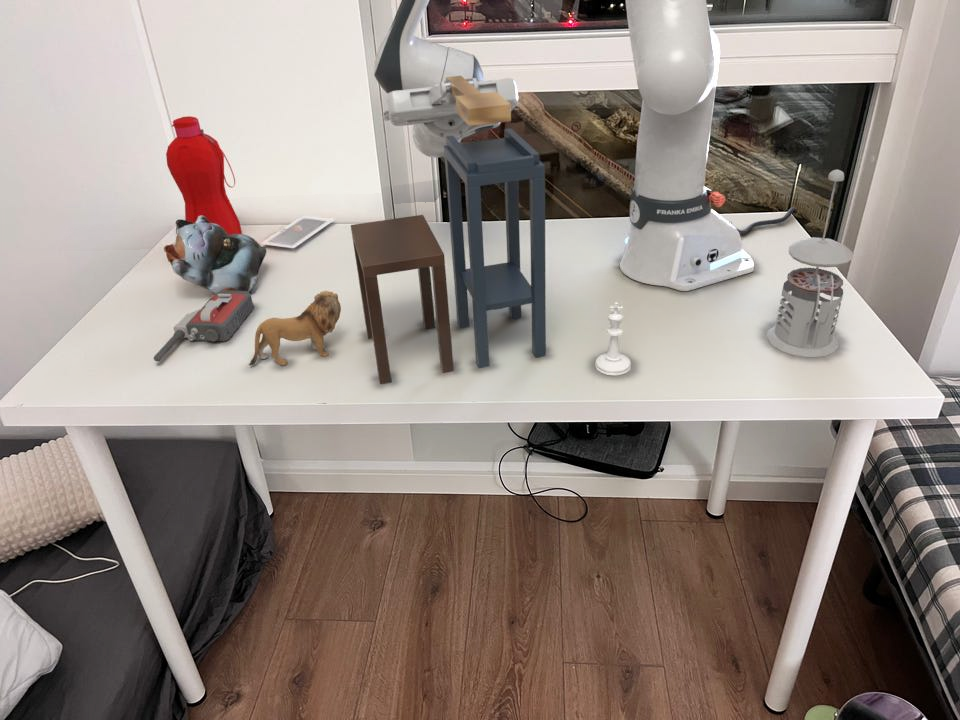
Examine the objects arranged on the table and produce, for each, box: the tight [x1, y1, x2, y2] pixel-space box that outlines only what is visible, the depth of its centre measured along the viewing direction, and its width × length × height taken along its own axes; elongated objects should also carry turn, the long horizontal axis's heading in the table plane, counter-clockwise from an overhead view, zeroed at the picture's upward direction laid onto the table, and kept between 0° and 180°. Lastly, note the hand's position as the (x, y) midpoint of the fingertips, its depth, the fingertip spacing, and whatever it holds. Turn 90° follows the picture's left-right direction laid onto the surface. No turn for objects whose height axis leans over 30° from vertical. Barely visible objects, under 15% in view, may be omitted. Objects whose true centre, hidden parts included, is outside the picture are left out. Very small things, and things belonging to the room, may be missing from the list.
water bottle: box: [165, 116, 243, 235], centre depth 141 cm, size 9×11×25 cm
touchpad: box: [259, 214, 336, 249], centre depth 150 cm, size 8×15×2 cm, turn 158°
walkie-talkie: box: [153, 290, 255, 362], centre depth 118 cm, size 9×4×20 cm
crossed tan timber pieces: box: [446, 76, 512, 126], centre depth 104 cm, size 6×20×2 cm, turn 15°
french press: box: [766, 169, 854, 358], centre depth 102 cm, size 10×12×25 cm
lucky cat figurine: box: [163, 215, 267, 294], centre depth 130 cm, size 15×12×14 cm
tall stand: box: [444, 127, 547, 369], centre depth 105 cm, size 10×14×29 cm
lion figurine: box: [248, 290, 342, 367], centre depth 110 cm, size 15×5×9 cm, turn 116°
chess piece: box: [594, 301, 632, 377], centre depth 103 cm, size 5×5×10 cm
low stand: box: [350, 214, 455, 385], centre depth 107 cm, size 10×14×18 cm
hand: (459, 85), depth 109 cm, fingers closed on crossed tan timber pieces, 2 cm apart
